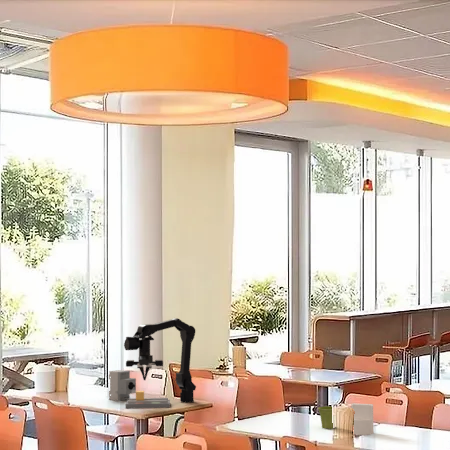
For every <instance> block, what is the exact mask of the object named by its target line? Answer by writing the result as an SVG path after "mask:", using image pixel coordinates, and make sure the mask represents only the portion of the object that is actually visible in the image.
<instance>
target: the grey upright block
mask: <svg viewBox="0 0 450 450" xmlns="http://www.w3.org/2000/svg"><path fill="white" fill-rule="evenodd" d="M351 408H353V409H354V411H355V414H354V434H353V435H357V436H371V435H373V434H374V432H375V431H374V404H372V403H371V404H370V403H351Z"/></svg>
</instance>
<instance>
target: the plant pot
mask: <svg viewBox="0 0 450 450" xmlns="http://www.w3.org/2000/svg"><path fill="white" fill-rule="evenodd" d="M332 406H333V405H332ZM332 406H319V407H317V410H318V412H319V415H320V416H319V417H320V421H321V428H322V429H324V430H326V429H328V430H333V423H332Z"/></svg>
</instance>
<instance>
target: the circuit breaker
mask: <svg viewBox="0 0 450 450" xmlns="http://www.w3.org/2000/svg"><path fill="white" fill-rule="evenodd" d="M130 375H131V372H130V370H122V369H117V370H109V374H108V380H109V390H108V397H109V398H108V400H110V399H111V400H110V401H118V400H121V401H126V400H125V399H127V400H129V399H130V398H131V395H130V394H136V391H137V383H136V382H137V379H136V378H134V377H131V376H130Z"/></svg>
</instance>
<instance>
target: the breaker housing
mask: <svg viewBox="0 0 450 450" xmlns="http://www.w3.org/2000/svg"><path fill="white" fill-rule="evenodd" d="M170 407H171V399H169V397H144V400H136V397H135V398H134V397H133V398H131V397H130V399H127V400H126V402H125V409H155V408H156V409H157V408H158V409H161V408H163V409H164V408H170Z"/></svg>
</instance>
